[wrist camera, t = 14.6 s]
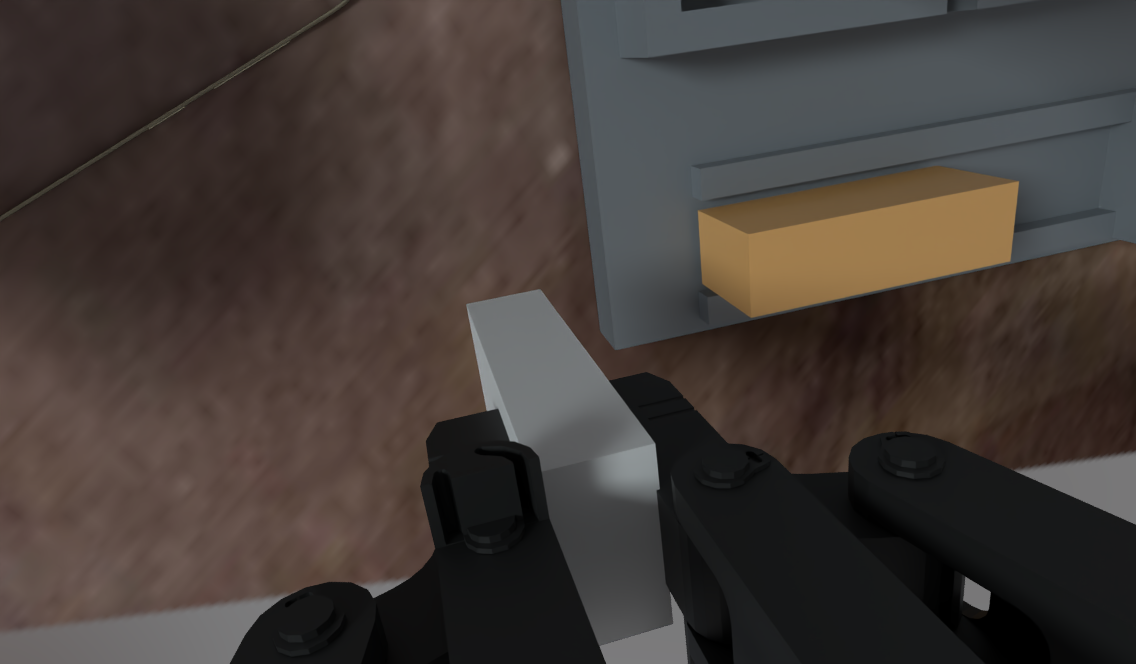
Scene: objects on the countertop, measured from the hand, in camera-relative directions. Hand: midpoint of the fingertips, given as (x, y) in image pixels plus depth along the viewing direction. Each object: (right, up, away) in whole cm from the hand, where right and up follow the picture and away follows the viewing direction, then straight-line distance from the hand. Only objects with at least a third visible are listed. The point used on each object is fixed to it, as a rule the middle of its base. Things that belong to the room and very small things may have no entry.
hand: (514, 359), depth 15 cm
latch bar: (+8, +3, +5) cm, 10 cm away
